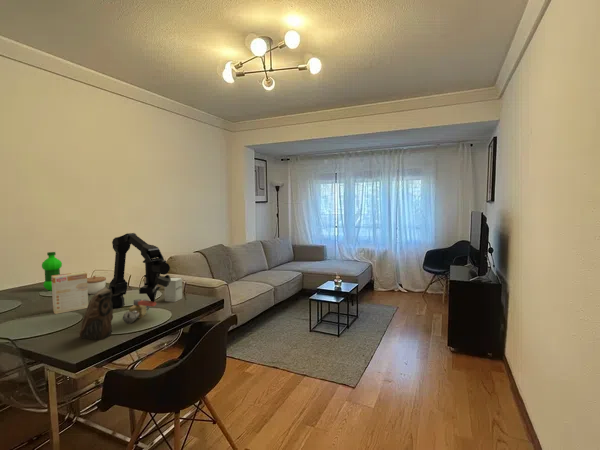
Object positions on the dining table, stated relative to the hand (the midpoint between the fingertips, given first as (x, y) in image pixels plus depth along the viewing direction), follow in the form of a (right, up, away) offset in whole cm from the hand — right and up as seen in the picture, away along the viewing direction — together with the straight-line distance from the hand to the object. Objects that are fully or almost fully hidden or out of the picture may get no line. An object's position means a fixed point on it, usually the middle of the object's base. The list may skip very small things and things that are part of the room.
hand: (153, 302), depth 163 cm
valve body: (-8, -7, +1) cm, 11 cm away
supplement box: (-1, -6, +29) cm, 29 cm away
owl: (-14, -9, -23) cm, 28 cm away
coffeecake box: (-49, -7, +11) cm, 51 cm away
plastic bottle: (-91, -4, +52) cm, 105 cm away
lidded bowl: (-58, -5, +44) cm, 73 cm away
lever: (-4, -1, -1) cm, 4 cm away
